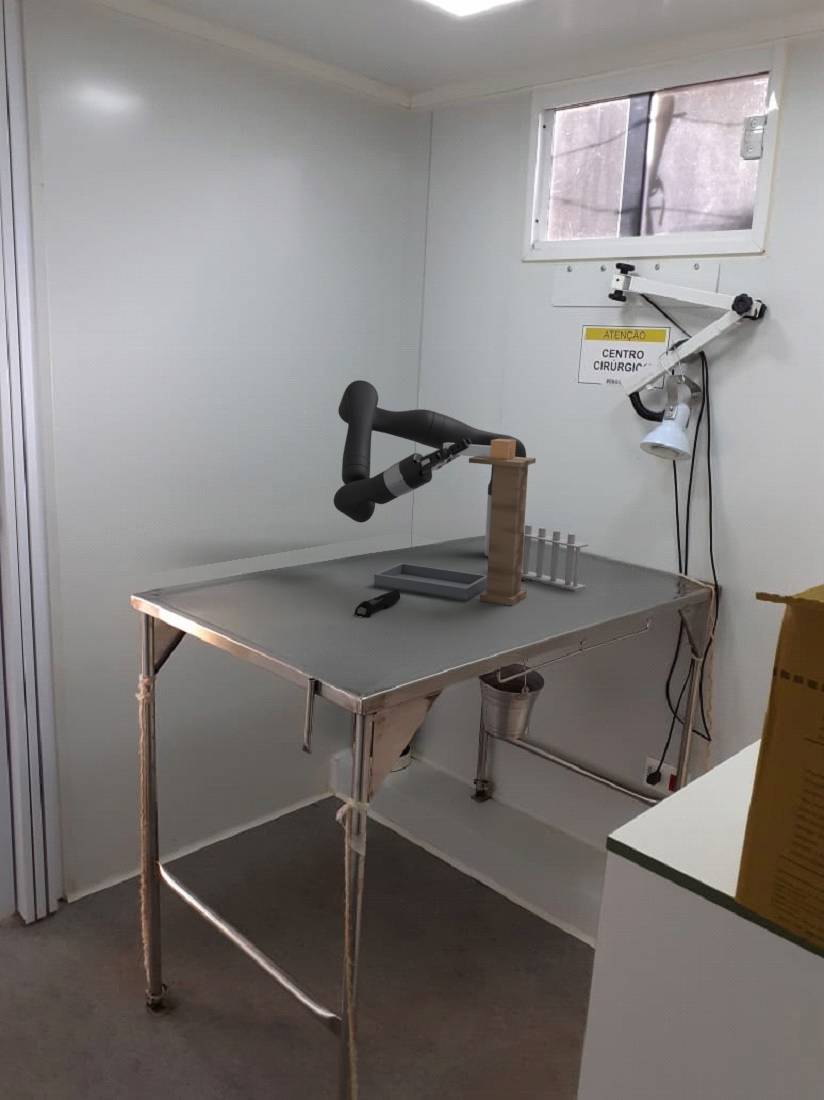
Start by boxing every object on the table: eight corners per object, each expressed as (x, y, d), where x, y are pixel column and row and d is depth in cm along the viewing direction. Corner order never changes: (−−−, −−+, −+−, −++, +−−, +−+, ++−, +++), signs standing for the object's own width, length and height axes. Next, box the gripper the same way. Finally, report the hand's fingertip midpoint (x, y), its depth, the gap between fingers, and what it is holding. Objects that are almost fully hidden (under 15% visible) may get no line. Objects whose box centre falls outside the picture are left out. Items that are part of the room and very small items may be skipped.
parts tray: (401, 574, 216) (401, 562, 216) (488, 587, 206) (489, 575, 206) (374, 586, 204) (374, 574, 204) (466, 601, 194) (466, 588, 193)
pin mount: (478, 588, 205) (485, 454, 198) (527, 596, 200) (535, 458, 193) (462, 598, 197) (468, 458, 190) (512, 606, 191) (520, 462, 184)
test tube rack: (585, 588, 209) (589, 535, 206) (574, 591, 206) (578, 537, 203) (507, 568, 227) (509, 519, 224) (495, 571, 224) (498, 520, 221)
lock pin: (449, 452, 200) (450, 435, 199) (514, 457, 193) (515, 439, 192) (440, 454, 195) (441, 436, 194) (507, 459, 188) (508, 441, 188)
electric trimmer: (404, 603, 193) (405, 589, 192) (368, 619, 180) (368, 604, 179) (390, 600, 195) (390, 587, 194) (352, 616, 181) (353, 601, 181)
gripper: (427, 486, 209) (486, 455, 200) (400, 493, 197) (463, 460, 188) (414, 458, 209) (473, 426, 201) (387, 463, 197) (448, 429, 188)
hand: (467, 443), depth 194 cm, fingers closed on lock pin, 2 cm apart
